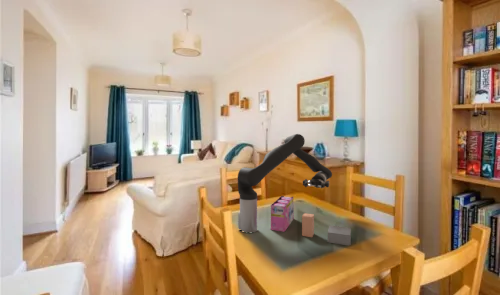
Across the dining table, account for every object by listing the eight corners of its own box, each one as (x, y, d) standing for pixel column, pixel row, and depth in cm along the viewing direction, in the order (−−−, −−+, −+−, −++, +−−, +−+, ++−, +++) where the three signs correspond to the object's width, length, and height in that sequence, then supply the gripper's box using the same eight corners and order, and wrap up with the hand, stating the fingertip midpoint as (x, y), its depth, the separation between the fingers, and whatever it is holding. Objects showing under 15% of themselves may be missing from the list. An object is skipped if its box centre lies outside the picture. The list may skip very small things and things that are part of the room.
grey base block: (327, 242, 116) (327, 232, 116) (329, 234, 125) (329, 225, 125) (350, 246, 112) (350, 235, 112) (350, 238, 121) (350, 228, 121)
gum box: (281, 216, 153) (281, 195, 153) (294, 218, 150) (294, 196, 150) (270, 230, 131) (270, 204, 131) (284, 232, 128) (284, 206, 128)
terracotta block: (302, 235, 123) (302, 216, 123) (304, 232, 128) (304, 213, 127) (312, 237, 121) (312, 217, 121) (313, 233, 126) (314, 214, 125)
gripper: (307, 173, 151) (300, 178, 137) (331, 174, 145) (327, 180, 130) (307, 185, 152) (300, 191, 137) (331, 187, 145) (327, 193, 131)
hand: (313, 186), depth 134 cm, fingers open, 8 cm apart
